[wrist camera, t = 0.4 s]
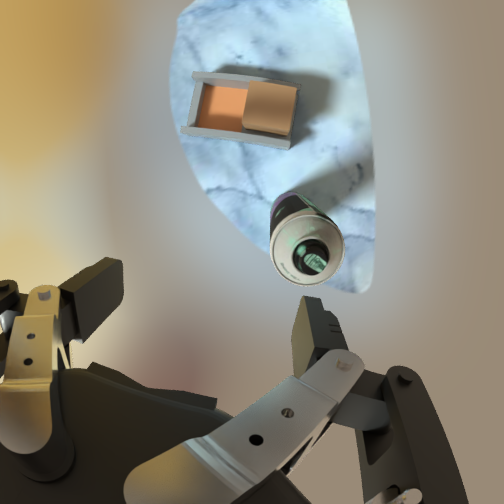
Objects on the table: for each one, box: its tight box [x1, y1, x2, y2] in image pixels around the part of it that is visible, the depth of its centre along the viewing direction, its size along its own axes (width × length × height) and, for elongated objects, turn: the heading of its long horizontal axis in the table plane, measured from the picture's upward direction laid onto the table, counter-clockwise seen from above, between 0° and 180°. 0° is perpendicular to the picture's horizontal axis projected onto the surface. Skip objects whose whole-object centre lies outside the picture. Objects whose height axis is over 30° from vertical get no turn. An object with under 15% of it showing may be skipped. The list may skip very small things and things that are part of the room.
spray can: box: [270, 192, 345, 286], centre depth 26 cm, size 6×6×20 cm
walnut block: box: [242, 80, 297, 136], centre depth 28 cm, size 5×5×5 cm
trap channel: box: [180, 71, 301, 150], centre depth 30 cm, size 8×13×4 cm, turn 80°
